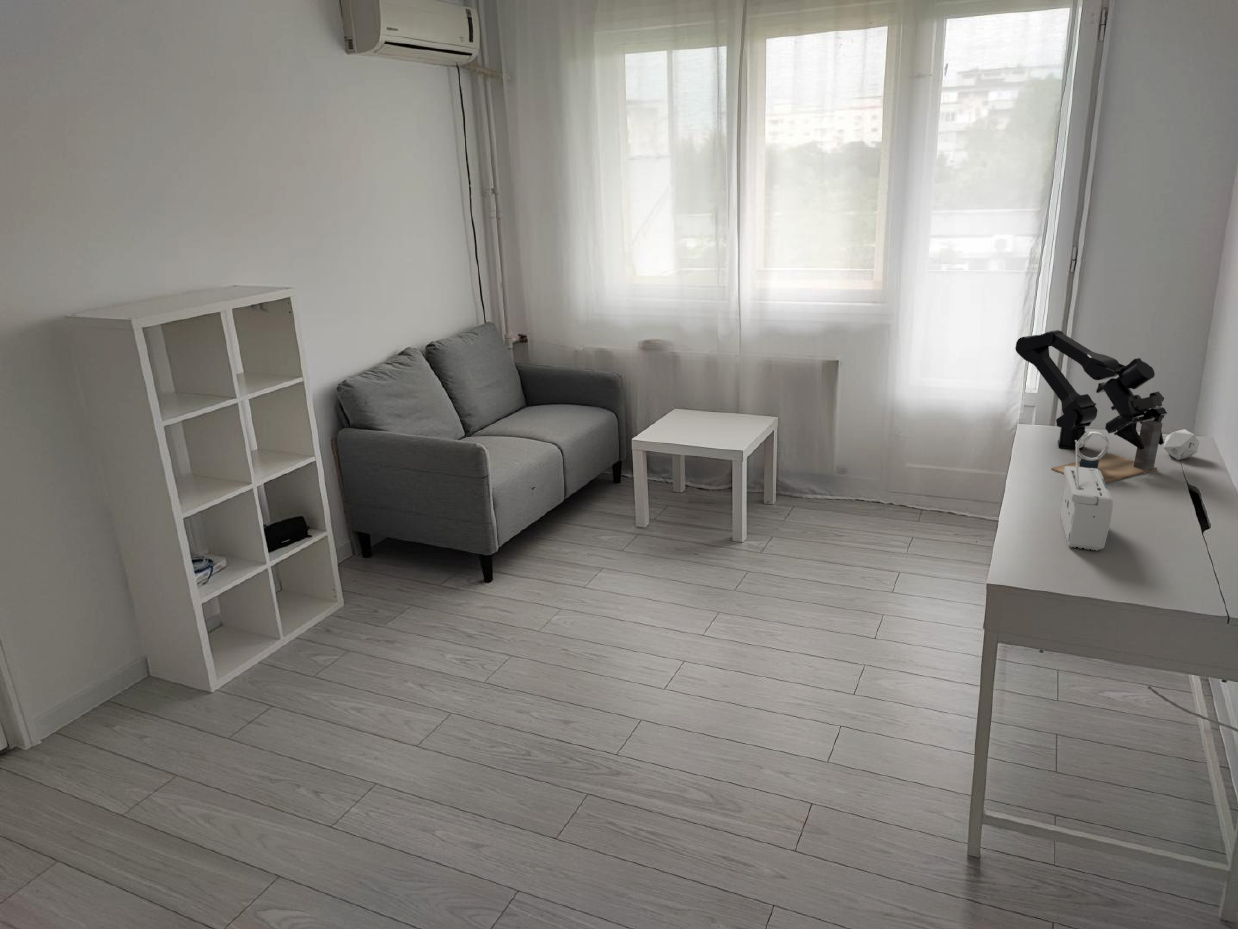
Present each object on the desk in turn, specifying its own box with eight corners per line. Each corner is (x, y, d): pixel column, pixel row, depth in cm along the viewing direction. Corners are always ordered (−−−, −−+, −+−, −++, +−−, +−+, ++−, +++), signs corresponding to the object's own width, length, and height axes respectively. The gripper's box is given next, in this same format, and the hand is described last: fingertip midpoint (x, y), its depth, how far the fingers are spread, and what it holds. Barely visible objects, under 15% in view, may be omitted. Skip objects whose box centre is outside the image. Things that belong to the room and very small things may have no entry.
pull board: (1051, 469, 247) (1058, 423, 243) (1110, 455, 258) (1118, 410, 253) (1096, 485, 235) (1105, 437, 231) (1156, 469, 246) (1166, 422, 241)
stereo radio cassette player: (1105, 554, 197) (1121, 469, 190) (1064, 549, 199) (1078, 465, 193) (1093, 518, 215) (1107, 440, 208) (1055, 514, 218) (1068, 437, 211)
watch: (1072, 464, 249) (1078, 427, 245) (1104, 469, 245) (1111, 431, 241) (1070, 470, 245) (1076, 432, 241) (1103, 475, 241) (1110, 437, 237)
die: (1157, 460, 255) (1183, 440, 247) (1154, 438, 260) (1178, 418, 253) (1183, 470, 255) (1209, 450, 248) (1179, 448, 261) (1204, 428, 253)
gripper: (1123, 387, 238) (1155, 437, 232) (1167, 378, 246) (1198, 426, 240) (1091, 408, 247) (1121, 457, 241) (1134, 399, 255) (1164, 446, 249)
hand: (1152, 446), depth 243 cm, fingers open, 8 cm apart
